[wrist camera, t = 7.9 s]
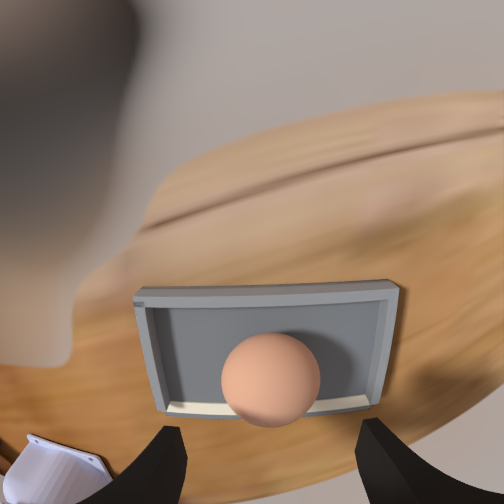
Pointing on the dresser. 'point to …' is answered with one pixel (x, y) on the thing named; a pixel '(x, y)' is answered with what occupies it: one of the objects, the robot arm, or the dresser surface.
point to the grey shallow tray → (266, 321)
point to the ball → (270, 379)
